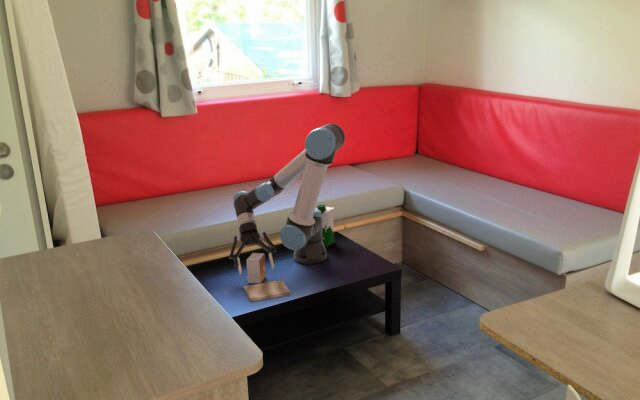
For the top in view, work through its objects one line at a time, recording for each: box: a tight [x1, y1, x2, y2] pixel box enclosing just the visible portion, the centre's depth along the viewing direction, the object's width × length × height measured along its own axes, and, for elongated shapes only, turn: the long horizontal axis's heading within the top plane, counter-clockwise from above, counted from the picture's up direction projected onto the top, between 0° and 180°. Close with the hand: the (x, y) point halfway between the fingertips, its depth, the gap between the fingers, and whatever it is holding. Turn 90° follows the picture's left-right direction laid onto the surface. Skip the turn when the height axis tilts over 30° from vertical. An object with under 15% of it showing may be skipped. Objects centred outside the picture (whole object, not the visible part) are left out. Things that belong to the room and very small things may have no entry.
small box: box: [245, 252, 267, 284], centre depth 229 cm, size 8×6×10 cm
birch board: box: [243, 279, 291, 303], centre depth 219 cm, size 16×12×1 cm
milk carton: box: [315, 204, 336, 248], centre depth 265 cm, size 9×9×20 cm
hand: (257, 270), depth 227 cm, fingers open, 13 cm apart
